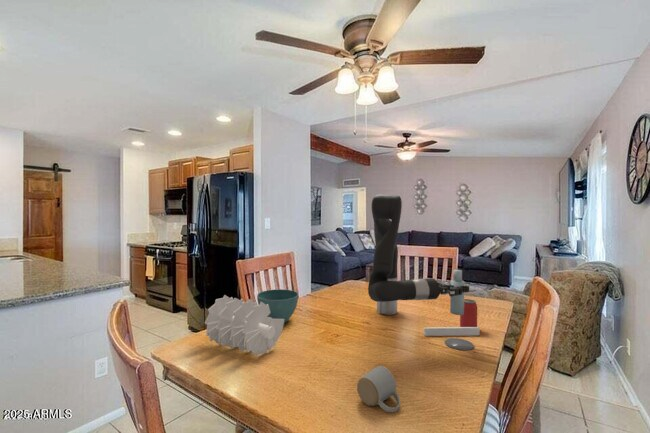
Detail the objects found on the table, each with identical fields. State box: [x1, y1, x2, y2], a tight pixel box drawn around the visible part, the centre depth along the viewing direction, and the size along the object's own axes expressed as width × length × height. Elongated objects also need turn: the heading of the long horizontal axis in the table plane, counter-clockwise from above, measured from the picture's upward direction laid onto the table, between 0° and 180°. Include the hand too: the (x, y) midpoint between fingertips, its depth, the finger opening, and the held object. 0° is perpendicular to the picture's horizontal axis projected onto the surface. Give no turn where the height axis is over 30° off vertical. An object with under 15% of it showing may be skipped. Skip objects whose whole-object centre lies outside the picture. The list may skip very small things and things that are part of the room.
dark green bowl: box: [256, 288, 299, 324], centre depth 145 cm, size 18×18×12 cm
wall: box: [423, 326, 480, 337], centre depth 129 cm, size 22×1×3 cm, turn 92°
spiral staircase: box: [204, 294, 285, 358], centre depth 117 cm, size 18×18×25 cm
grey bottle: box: [449, 269, 465, 316], centre depth 121 cm, size 5×5×16 cm
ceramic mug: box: [356, 365, 401, 413], centre depth 84 cm, size 11×8×8 cm
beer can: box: [459, 298, 478, 327], centre depth 135 cm, size 7×7×12 cm
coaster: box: [444, 337, 475, 351], centre depth 120 cm, size 10×10×1 cm
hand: (463, 287), depth 122 cm, fingers closed on grey bottle, 4 cm apart
